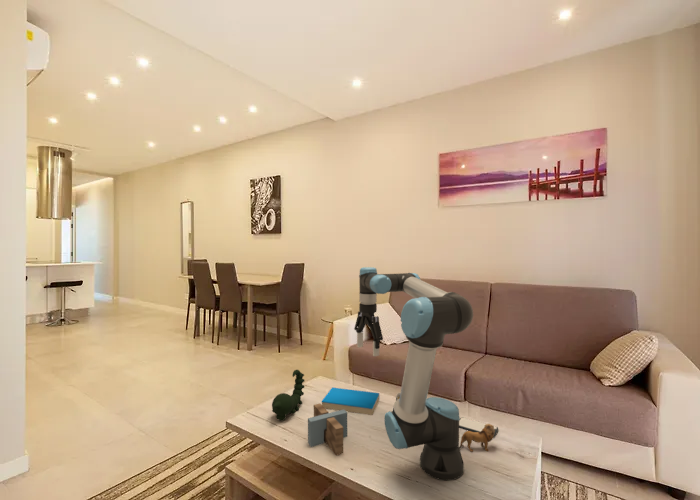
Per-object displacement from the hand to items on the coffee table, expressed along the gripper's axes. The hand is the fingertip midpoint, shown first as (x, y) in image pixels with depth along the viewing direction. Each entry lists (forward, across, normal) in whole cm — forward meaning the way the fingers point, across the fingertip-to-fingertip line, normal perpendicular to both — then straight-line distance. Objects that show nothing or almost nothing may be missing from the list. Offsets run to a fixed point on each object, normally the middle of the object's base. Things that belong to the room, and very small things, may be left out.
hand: (367, 351), depth 155 cm
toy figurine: (+32, +24, +28) cm, 49 cm away
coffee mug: (+32, -4, -19) cm, 37 cm away
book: (+32, +19, -2) cm, 38 cm away
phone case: (+32, -25, -39) cm, 57 cm away
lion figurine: (+32, -36, -28) cm, 56 cm away
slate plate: (+32, -4, +21) cm, 38 cm away
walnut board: (+32, -4, +21) cm, 38 cm away
